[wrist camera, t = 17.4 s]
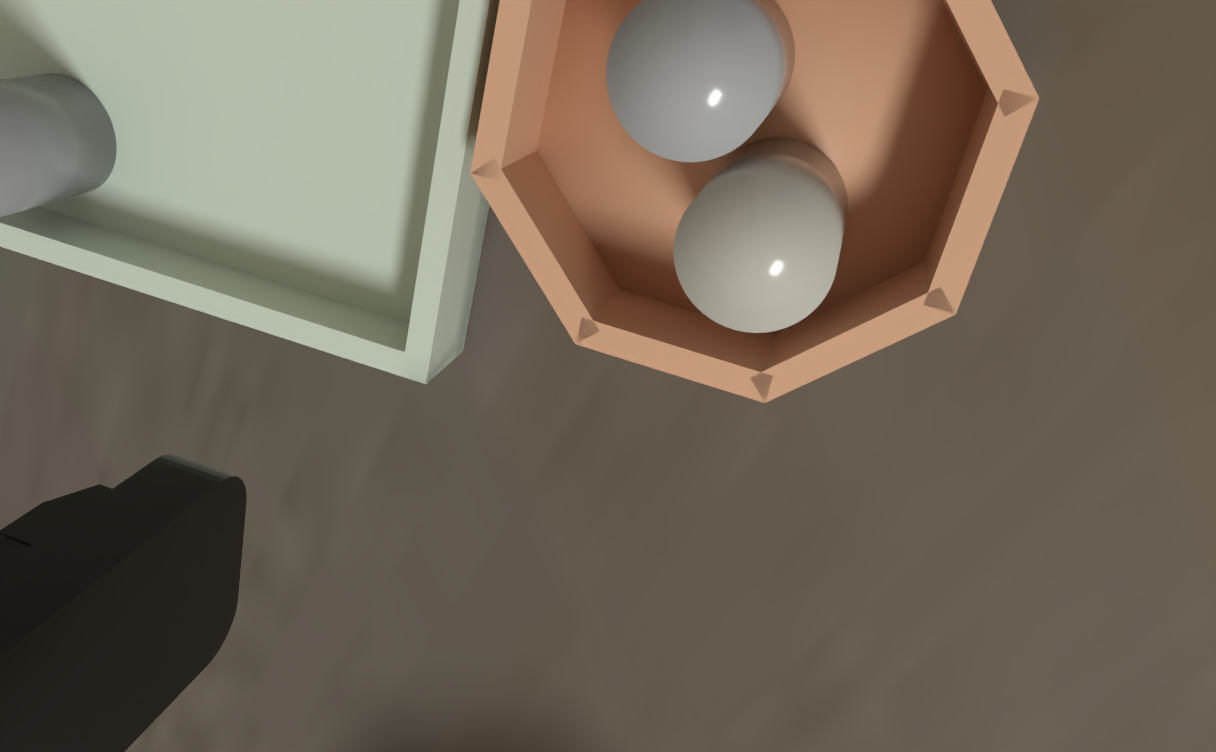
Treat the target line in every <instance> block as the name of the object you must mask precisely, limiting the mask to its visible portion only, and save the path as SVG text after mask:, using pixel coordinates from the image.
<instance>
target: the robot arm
mask: <svg viewBox="0 0 1216 752" xmlns="http://www.w3.org/2000/svg"><path fill="white" fill-rule="evenodd" d="M245 510H246V488H245V485H244V483H243V481H242V480H241V479H240V478H239V477H236V476H233V475H230V474H227V473H224V472H221V471H218V470H215V469H213V468H210V467H207V466H204V465H201V464H198V463H195V462H192V461H189V460H186V459H183V458H181V457H178V456H175V455H164V456H161V457H159V458H157V459H155V460H154V461H152V462H151V463H150V464H148V465H147V466H145V467H144V468H142V469H141V470H139V471H138V472H137V473H135V474H134V475H132V476H131V477H129V478H128V479H126V480H125V481H123V482H122V483H121V484H119V485H118V486H116V487H115V488H113V489H111V488H108V487H106V486H103V485H100V484H99V485H96V486H93V487H90V488H87V489H84V490H81V491H78V492H74V493H71V494H68V495H65V496H62V497H59V498H56V499H53V500H50V501H47V502H44V503H42V504H40V505H38V506H37V507H35V508H34V509H32V510H31V511H29V512H28V513H26V514H25V515H23V516H22V517H20V518H18V519H17V520H15V521H14V522H12V523H11V524H9V525H8V526H6V527H5V528H3V529H2V530H0V752H125V751H126V750H127V748H128V747H129V746H130V745H131V744H132V743H133V742H134V741H135V740H136V739H137V738H138V737H139V736H140V735H141V734H142V733H143V732H144V731H145V730H146V729H147V728H148V727H149V726H150V725H151V723H152V722H153V721H154V720H155V719H156V718H157V717H158V716H159V715H160V714H161V713H162V712H163V711H164V710H165V709H166V708H167V707H168V706H169V705H170V704H171V703H172V702H173V701H174V699H175V698H176V697H177V696H178V695H179V694H180V693H181V692H182V691H183V690H184V689H185V688H186V687H187V686H188V685H189V684H190V683H191V682H192V681H193V680H194V679H195V678H196V677H197V676H198V674H199V673H200V672H201V671H202V670H203V669H204V668H205V667H206V666H207V665H208V664H209V663H210V662H211V660H212V659H213V658H214V656H215V655H216V654H217V652H218V651H219V649H220V647H221V646H222V644H223V642H224V640H225V638H226V636H227V634H228V632H229V630H230V627H231V625H232V622H233V619H234V616H235V612H236V608H237V601H238V591H239V580H240V568H241V557H242V545H243V533H244V522H245Z"/></svg>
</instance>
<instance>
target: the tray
mask: <svg viewBox="0 0 1216 752" xmlns="http://www.w3.org/2000/svg"><path fill="white" fill-rule="evenodd" d="M499 2H500V0H0V79H6V78H14V77H22V76H30V75H37V74H45V73H59V74H63V75H67V76H69V77H72V78H74V79H76V80H78V81H79V82H81V83H82V84H84V85H85V86H86V87H87V88H89V89H90V90H91V91H92V92H93V93H94V94H95V95H96V96H97V98H98V99H99V100H100V102H101V103H102V104H103V106H104V108H105V109H106V111H107V113H108V115H109V117H110V119H111V122H112V125H113V128H114V132H115V136H116V147H117V151H116V160H115V164H114V167H113V170H112V172H111V174H110V176H109V177H108V179H107V180H106V181H105V182H104V183H103V184H102V185H101V186H100V187H98V188H97V189H95V190H93V191H91V192H87V193H84V194H80V195H77V196H73V197H70V198H66V199H63V200H59V201H56V202H52V203H49V204H45V205H41V206H38V207H34V208H31V209H27V210H24V211H20V212H17V213H13V214H10V215H6V216H2V217H0V247H4V248H7V249H10V250H13V251H16V252H19V253H22V254H25V255H28V256H31V257H34V258H37V259H41V260H44V261H47V262H50V263H53V264H56V265H59V266H62V267H65V268H68V269H71V270H75V271H78V272H81V273H84V274H87V275H90V276H93V277H96V278H99V279H102V280H105V281H109V282H112V283H115V284H118V285H121V286H124V287H127V288H130V289H133V290H136V291H139V292H142V293H146V294H149V295H152V296H155V297H158V298H161V299H164V300H167V301H170V302H173V303H176V304H180V305H183V306H186V307H189V308H192V309H195V310H198V311H201V312H204V313H207V314H210V315H214V316H217V317H220V318H223V319H226V320H229V321H232V322H235V323H238V324H241V325H244V326H247V327H251V328H254V329H257V330H260V331H263V332H266V333H269V334H272V335H275V336H278V337H281V338H285V339H288V340H291V341H294V342H297V343H300V344H303V345H306V346H309V347H312V348H315V349H319V350H322V351H325V352H328V353H331V354H334V355H337V356H340V357H343V358H346V359H349V360H352V361H356V362H359V363H362V364H365V365H368V366H371V367H374V368H377V369H380V370H383V371H386V372H390V373H393V374H396V375H399V376H402V377H405V378H408V379H411V380H414V381H417V382H420V383H424V384H427V383H428V382H429V381H430V380H431V379H432V378H433V377H435V376H436V375H437V374H438V373H439V372H440V371H441V370H442V369H443V368H445V367H446V366H447V365H448V364H449V363H450V362H451V361H452V360H454V359H455V358H456V357H457V356H458V355H459V354H460V353H461V352H463V349H464V344H465V338H466V333H467V327H468V322H469V316H470V311H471V305H472V300H473V294H474V289H475V283H476V277H477V272H478V266H479V261H480V255H481V250H482V244H483V239H484V233H485V228H486V222H487V217H488V211H489V206H490V204H489V203H488V201H487V200H486V198H485V196H484V195H483V193H482V191H481V190H480V188H479V187H478V185H477V183H476V182H475V180H474V178H473V177H472V175H471V174H470V172H471V166H472V160H473V154H474V148H475V142H476V136H477V131H478V125H479V119H480V113H481V107H482V101H483V95H484V90H485V84H486V78H487V72H488V66H489V60H490V54H491V49H492V43H493V37H494V31H495V25H496V19H497V13H498V7H499Z"/></svg>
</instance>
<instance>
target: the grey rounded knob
mask: <svg viewBox="0 0 1216 752" xmlns="http://www.w3.org/2000/svg"><path fill="white" fill-rule="evenodd" d="M116 151H117V147H116V136H115V132H114V128H113V125H112V122H111V119H110V117H109V115H108V113H107V111H106V109H105V108H104V106H103V104H102V103H101V102H100V100H99V99H98V98H97V96H96V95H95V94H94V93H93V92H92V91H91V90H90V89H89V88H87V87H86V86H85V85H84V84H82V83H81V82H79V81H78V80H76V79H74V78H72V77H69V76H67V75H63V74H59V73H45V74H37V75H30V76H22V77H14V78H6V79H0V217H2V216H6V215H10V214H13V213H17V212H20V211H24V210H27V209H31V208H34V207H38V206H41V205H45V204H49V203H52V202H56V201H59V200H63V199H66V198H70V197H73V196H77V195H80V194H84V193H87V192H91V191H93V190H95V189H97V188H98V187H100V186H101V185H102V184H103V183H104V182H105V181H106V180H107V179H108V177H109V176H110V174H111V172H112V170H113V167H114V164H115V160H116Z"/></svg>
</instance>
